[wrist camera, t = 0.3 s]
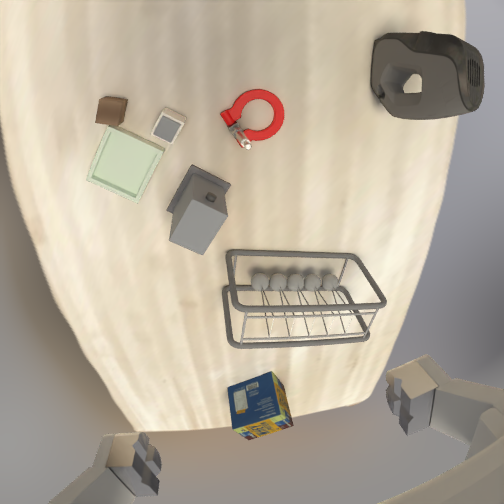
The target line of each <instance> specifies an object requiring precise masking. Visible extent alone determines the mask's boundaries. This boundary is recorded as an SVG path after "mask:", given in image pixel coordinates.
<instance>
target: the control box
mask: <svg viewBox="0 0 504 504" xmlns="http://www.w3.org/2000/svg"><path fill="white" fill-rule="evenodd" d="M230 186H231V184H230V183H228V182H226V181H224V180H222V179H220V178H218V177H216V176H214V175H212V174H210V173H208V172H206V171H204V170H202V169H200V168H198V167H196V166H194V165H191V167H190V168H189V170H188V172H187V174H186V176H185V177H184V179H183V181H182V183H181V184H180V186H179V188H178V190H177V192H176V194H175V195H174V197H173V199H172V201H171V203H170V205H169V207H168V208H167V211H169V212H171V213H173V217H172V224H171V231H170V238H169V241H171V242H173V243H175V244H178V245H180V246H182V247H184V248H187V249H189V250H191V251H194V252H196V253H198V254H201V255H203V254H204V253H205V251H206V250H207V248H208V247H209V245H210V243H211V242H212V240H213V239H214V237H215V235H216V234H217V232H218V231H219V229H220V228H221V226H222V225H223V223H224V221H225V220H226V218H227V217H228V213H227V207H226V201H225V194H226V192H227V190H228V189H229V187H230Z"/></svg>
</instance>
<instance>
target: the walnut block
mask: <svg viewBox="0 0 504 504" xmlns="http://www.w3.org/2000/svg"><path fill="white" fill-rule="evenodd" d="M127 101H128V99H121V98H115V97H107V96H106V97H103V98H101V99H99V104H98V110H97V115H96V121H95V123H100V124H107V125H113V126H119V125H120V124H121V123H122V122H123V120H124V115H125V111H126V106H127Z"/></svg>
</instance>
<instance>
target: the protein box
mask: <svg viewBox="0 0 504 504" xmlns="http://www.w3.org/2000/svg"><path fill="white" fill-rule="evenodd" d="M228 396H229V404H230V413H231V421H232V429H233V430H234V431H236V432H237V433H239V434H241V435H242V436H243V437H245V438H246V439H248V440H251V439H254V438H257V437H261V436H264V435H267V434H270V433H273V432H277V431H279V430H282V429H285V428H288V427H292V426H293V422H292V417H291V414H290V409H289V406H288V401H287V397H286V393H285V389H284V386H283V384H282V383H281V382H280V381H279V380H278V378H277V377H276V376H275V375H274V374H273V372H272V371H271V372H269V373H266V374H263V375H261V376H258V377H255V378H252V379H250V380H247V381H244V382H241V383H239V384H236V385H233V386H230V387H228Z"/></svg>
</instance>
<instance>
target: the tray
mask: <svg viewBox="0 0 504 504" xmlns="http://www.w3.org/2000/svg"><path fill="white" fill-rule="evenodd" d="M164 150H165V149H164V148H162V147H160V146H158V145H156V144H154V143H152V142H150V141H148V140H146V139H144V138H141V137H139V136H137V135H135V134H133V133H131V132H129V131H126V130H124V129H122V128H120V127H118V126H113V125H109V126H108V127H107V130H106V132H105V134H104V136H103V139H102V141H101V143H100V146H99V148H98V150H97V153H96V155H95V158H94V160H93V163H92V165H91V168H90V170H89V173H88V176H87V178H86V180H87V181H89V182H91V183H94V184H96V185H98V186H100V187H102V188H104V189H107V190H109V191H111V192H113V193H115V194H118V195H120V196H122V197H124V198H126V199H129V200H131V201H133V202H135V203H137V204H138V202H139V200H140V198H141V196H142V194H143V192H144V190H145V188H146V186H147V184H148V182H149V179H150V177H151V175H152V174H153V172H154V170H155V168H156V166H157V164H158V162H159V160H160V158H161V156H162V154H163V152H164Z"/></svg>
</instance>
